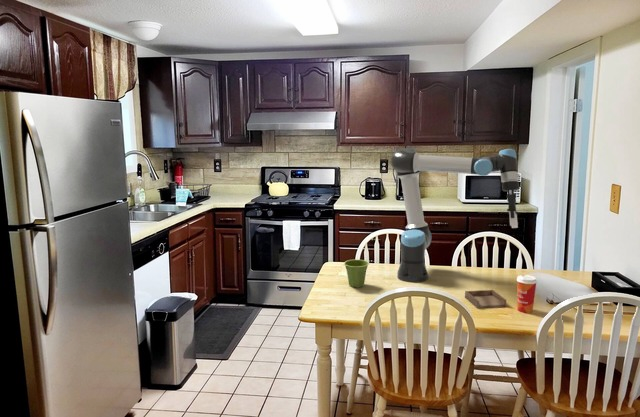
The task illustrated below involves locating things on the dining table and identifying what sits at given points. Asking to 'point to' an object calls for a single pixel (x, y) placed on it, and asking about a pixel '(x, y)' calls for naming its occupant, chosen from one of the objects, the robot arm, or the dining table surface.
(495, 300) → the walnut bay
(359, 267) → the plant pot
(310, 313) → the dining table surface
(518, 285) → the paper cup
